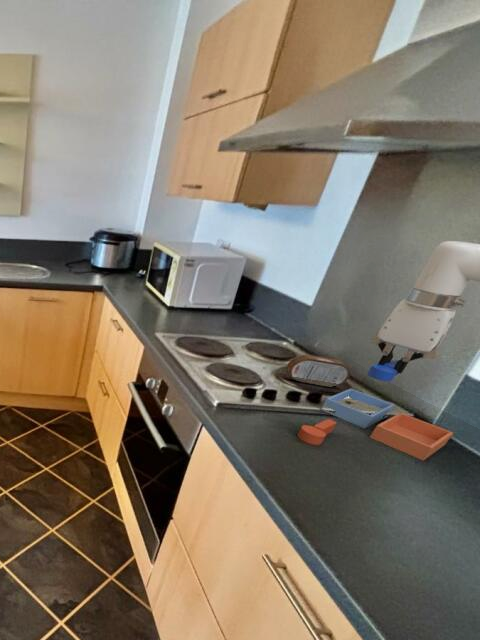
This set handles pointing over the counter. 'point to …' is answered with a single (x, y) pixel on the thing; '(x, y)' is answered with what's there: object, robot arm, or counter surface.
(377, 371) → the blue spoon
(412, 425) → the terracotta bin
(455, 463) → the counter surface
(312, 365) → the tin
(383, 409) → the blue bin
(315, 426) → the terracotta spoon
